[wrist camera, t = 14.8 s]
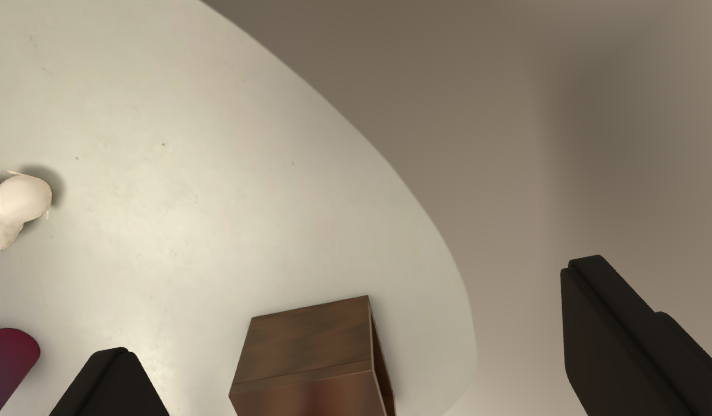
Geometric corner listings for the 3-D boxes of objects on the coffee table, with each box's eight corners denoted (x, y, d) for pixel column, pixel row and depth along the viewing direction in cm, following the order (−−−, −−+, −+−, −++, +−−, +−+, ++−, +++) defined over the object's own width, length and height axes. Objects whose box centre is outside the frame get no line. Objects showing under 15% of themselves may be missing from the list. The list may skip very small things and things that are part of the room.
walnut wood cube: (367, 295, 46) (372, 370, 37) (394, 396, 52) (403, 482, 43) (251, 317, 47) (228, 395, 38) (290, 414, 53) (278, 502, 44)
